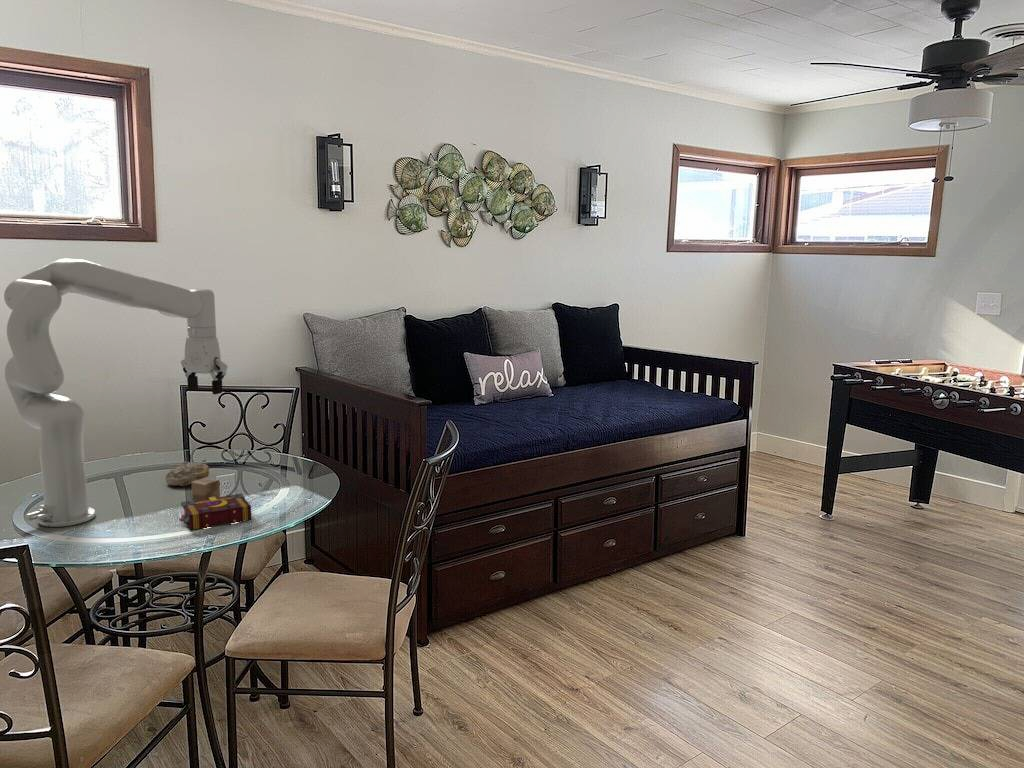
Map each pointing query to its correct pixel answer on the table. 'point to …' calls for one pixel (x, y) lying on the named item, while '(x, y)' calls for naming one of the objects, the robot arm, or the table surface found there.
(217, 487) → the walnut block
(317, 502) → the table surface
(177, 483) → the fossil
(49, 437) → the robot arm
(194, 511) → the decorative book
